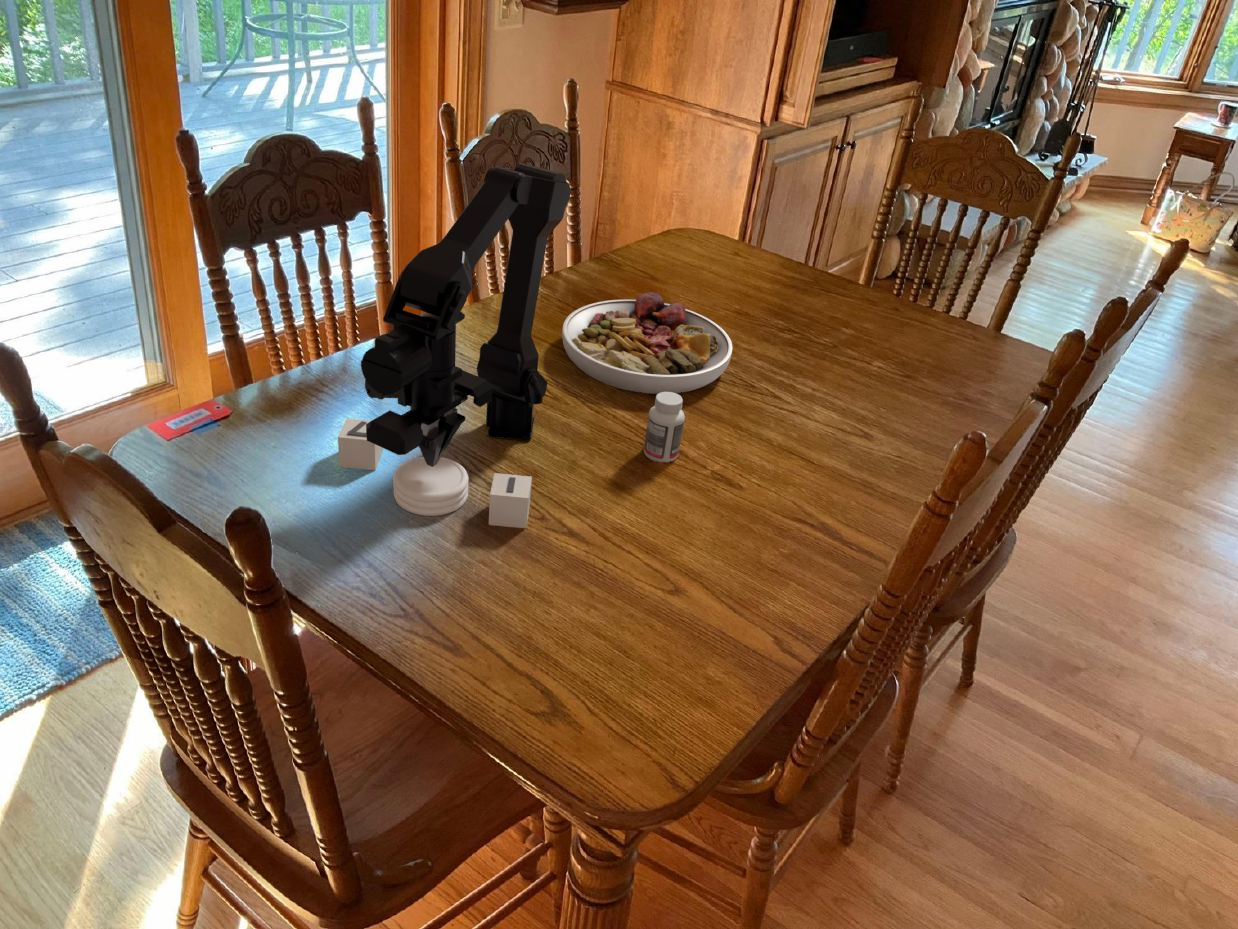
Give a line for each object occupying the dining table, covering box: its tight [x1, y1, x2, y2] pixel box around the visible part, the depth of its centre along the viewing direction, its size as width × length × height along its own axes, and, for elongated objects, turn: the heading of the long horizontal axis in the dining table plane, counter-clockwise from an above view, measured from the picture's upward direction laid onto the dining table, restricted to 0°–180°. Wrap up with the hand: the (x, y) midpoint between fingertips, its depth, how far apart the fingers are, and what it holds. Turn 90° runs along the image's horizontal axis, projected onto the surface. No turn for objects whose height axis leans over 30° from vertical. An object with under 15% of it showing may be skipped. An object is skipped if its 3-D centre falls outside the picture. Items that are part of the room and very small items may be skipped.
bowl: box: [561, 291, 733, 395], centre depth 172 cm, size 30×30×8 cm
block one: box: [488, 472, 533, 529], centre depth 130 cm, size 5×5×5 cm
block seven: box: [337, 418, 384, 471], centre depth 137 cm, size 5×5×5 cm
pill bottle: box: [643, 392, 685, 463], centre depth 145 cm, size 5×5×10 cm
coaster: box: [392, 456, 470, 517], centre depth 132 cm, size 10×10×4 cm
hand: (431, 464), depth 130 cm, fingers closed
